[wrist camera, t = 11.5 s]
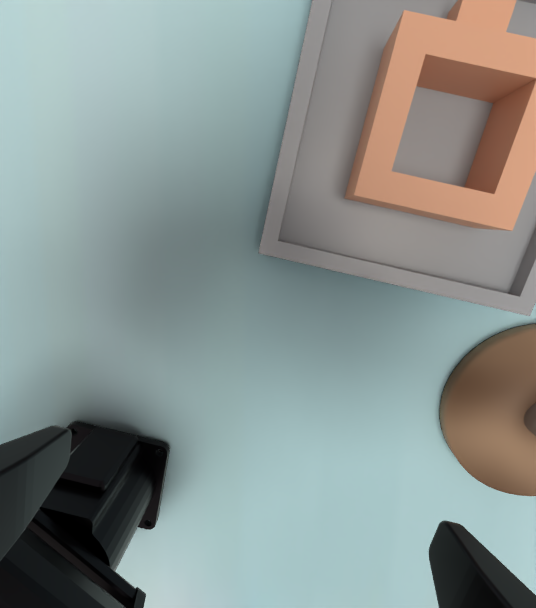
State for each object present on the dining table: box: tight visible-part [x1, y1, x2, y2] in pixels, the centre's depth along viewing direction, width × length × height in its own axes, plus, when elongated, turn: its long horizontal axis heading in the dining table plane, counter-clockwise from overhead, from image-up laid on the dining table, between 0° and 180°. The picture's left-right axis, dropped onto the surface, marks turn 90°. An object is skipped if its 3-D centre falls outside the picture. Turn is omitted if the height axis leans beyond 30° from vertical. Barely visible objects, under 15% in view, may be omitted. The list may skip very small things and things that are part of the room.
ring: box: [344, 0, 536, 231], centre depth 15 cm, size 8×7×3 cm
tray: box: [258, 0, 536, 316], centre depth 16 cm, size 14×14×2 cm
